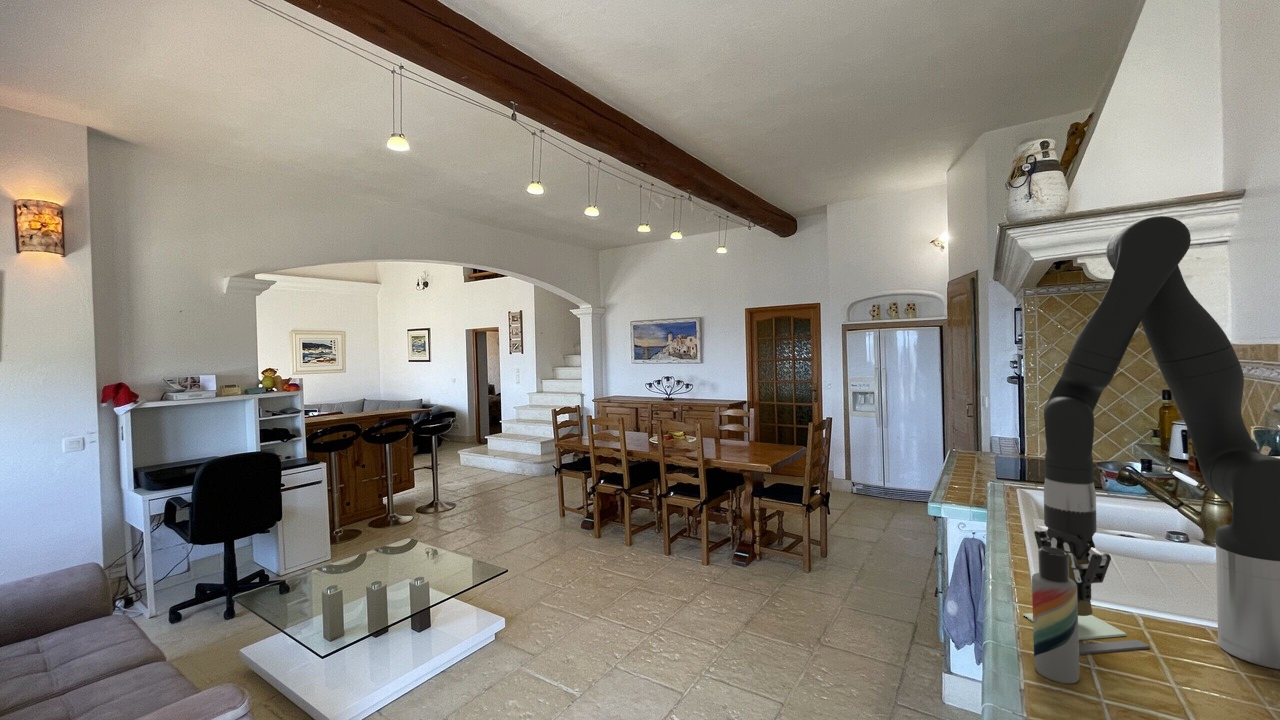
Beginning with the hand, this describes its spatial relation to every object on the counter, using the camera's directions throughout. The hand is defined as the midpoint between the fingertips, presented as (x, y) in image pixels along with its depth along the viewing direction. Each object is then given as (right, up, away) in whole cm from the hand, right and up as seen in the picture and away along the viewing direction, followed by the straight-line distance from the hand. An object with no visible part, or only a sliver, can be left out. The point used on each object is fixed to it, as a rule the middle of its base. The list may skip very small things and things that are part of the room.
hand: (1071, 595), depth 98 cm
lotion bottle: (-13, -7, -13) cm, 20 cm away
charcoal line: (-1, -6, -7) cm, 9 cm away
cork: (0, -2, 0) cm, 2 cm away
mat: (0, -6, 0) cm, 6 cm away
